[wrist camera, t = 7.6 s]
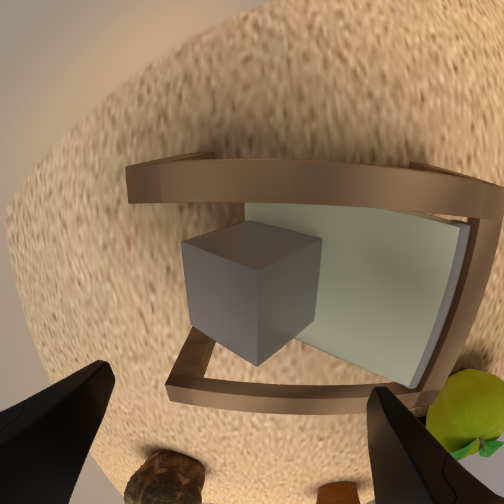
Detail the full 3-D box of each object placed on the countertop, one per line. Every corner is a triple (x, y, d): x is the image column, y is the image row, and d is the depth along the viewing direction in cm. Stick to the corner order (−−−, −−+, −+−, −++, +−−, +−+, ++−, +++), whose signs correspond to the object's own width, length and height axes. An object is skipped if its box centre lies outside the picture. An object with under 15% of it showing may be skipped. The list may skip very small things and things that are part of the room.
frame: (429, 165, 16) (507, 188, 8) (398, 327, 21) (432, 404, 13) (191, 153, 18) (125, 166, 10) (204, 321, 23) (169, 400, 15)
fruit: (452, 411, 25) (475, 472, 16) (401, 405, 25) (422, 481, 15) (500, 356, 21) (538, 417, 12) (454, 342, 21) (498, 419, 12)
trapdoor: (470, 223, 10) (470, 228, 9) (419, 379, 13) (415, 390, 13) (255, 182, 18) (244, 183, 17) (255, 310, 21) (246, 316, 20)
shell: (129, 440, 34) (101, 500, 23) (193, 448, 32) (171, 521, 21) (160, 471, 37) (141, 524, 26) (218, 479, 35) (204, 539, 24)
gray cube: (322, 238, 14) (257, 270, 11) (314, 320, 16) (257, 366, 13) (249, 220, 18) (181, 241, 14) (250, 292, 19) (190, 324, 16)
